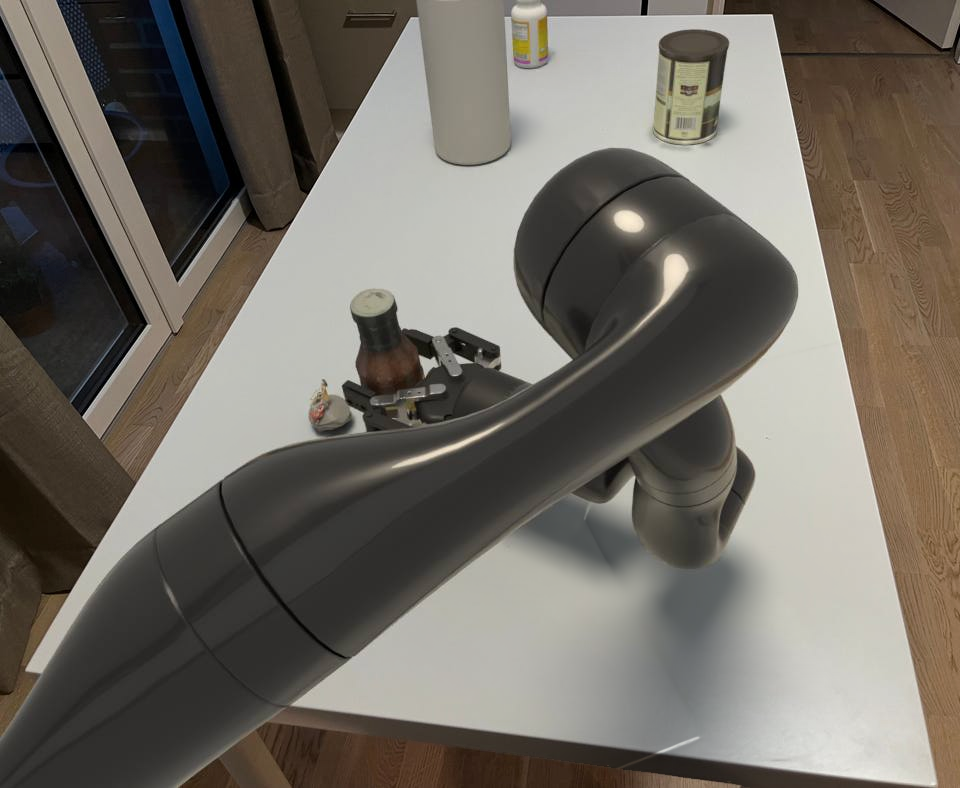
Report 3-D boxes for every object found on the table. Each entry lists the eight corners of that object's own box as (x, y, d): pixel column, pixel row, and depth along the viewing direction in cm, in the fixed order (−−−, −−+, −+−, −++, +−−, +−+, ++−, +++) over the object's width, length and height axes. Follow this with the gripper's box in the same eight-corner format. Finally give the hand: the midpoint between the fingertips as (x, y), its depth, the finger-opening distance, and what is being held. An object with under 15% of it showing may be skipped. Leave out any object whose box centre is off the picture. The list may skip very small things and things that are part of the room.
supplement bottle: (544, 53, 155) (543, -17, 146) (551, 67, 150) (550, -5, 141) (511, 57, 155) (507, -13, 146) (516, 71, 150) (513, -1, 141)
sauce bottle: (430, 419, 86) (404, 270, 72) (446, 460, 82) (422, 310, 68) (372, 436, 85) (334, 288, 71) (385, 478, 81) (347, 329, 67)
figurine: (361, 419, 88) (351, 380, 84) (334, 445, 85) (322, 406, 81) (327, 401, 90) (315, 363, 86) (299, 426, 88) (286, 387, 84)
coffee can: (700, 111, 133) (711, 24, 123) (727, 138, 126) (741, 48, 116) (642, 121, 132) (648, 35, 122) (666, 150, 125) (675, 60, 115)
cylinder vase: (523, 154, 127) (517, -12, 110) (451, 174, 125) (432, 7, 107) (492, 123, 136) (482, -36, 118) (424, 141, 133) (403, -19, 115)
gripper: (557, 344, 71) (413, 291, 78) (467, 448, 63) (315, 379, 70) (557, 403, 76) (422, 348, 83) (474, 506, 68) (333, 436, 75)
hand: (374, 362), depth 77 cm, fingers open, 8 cm apart
